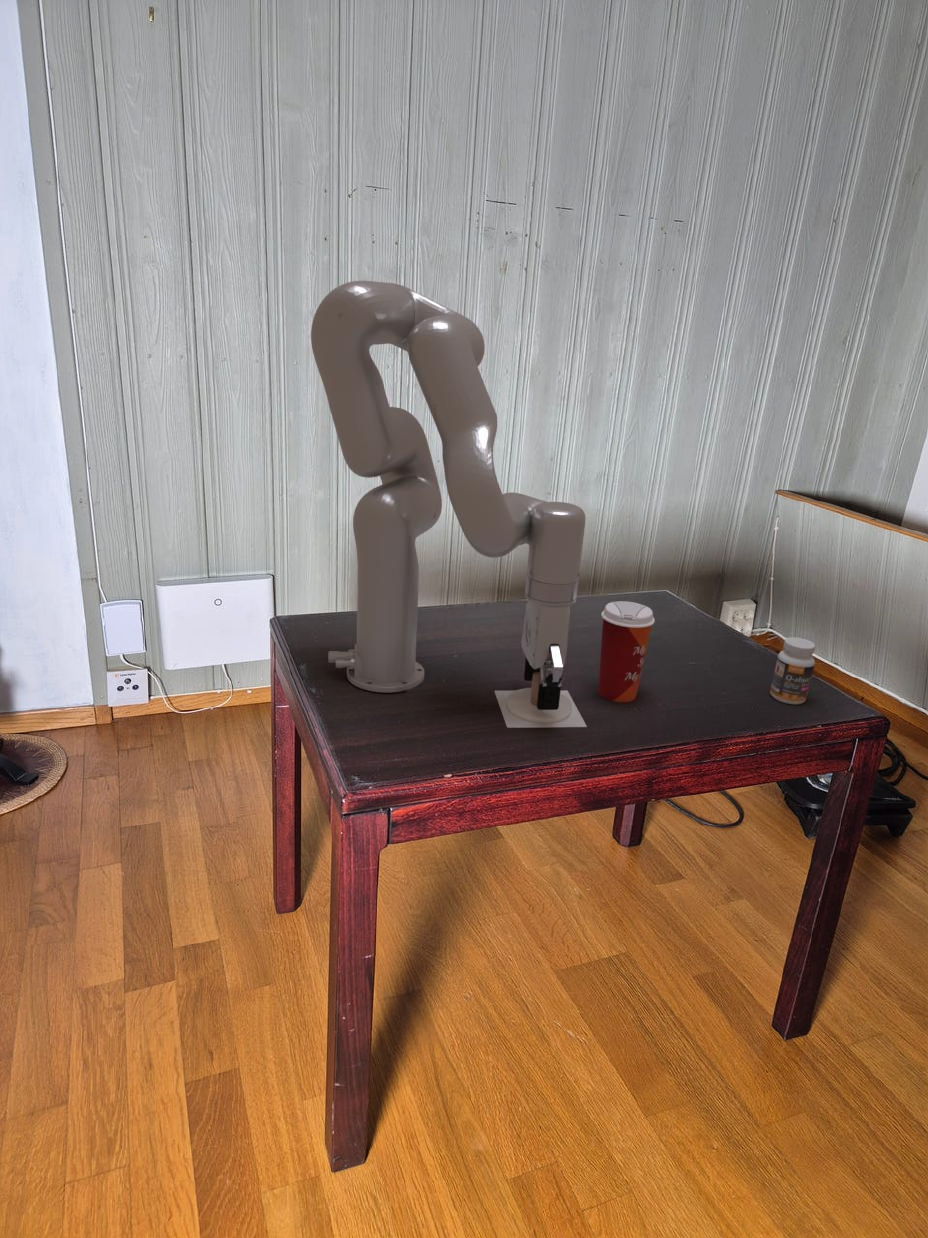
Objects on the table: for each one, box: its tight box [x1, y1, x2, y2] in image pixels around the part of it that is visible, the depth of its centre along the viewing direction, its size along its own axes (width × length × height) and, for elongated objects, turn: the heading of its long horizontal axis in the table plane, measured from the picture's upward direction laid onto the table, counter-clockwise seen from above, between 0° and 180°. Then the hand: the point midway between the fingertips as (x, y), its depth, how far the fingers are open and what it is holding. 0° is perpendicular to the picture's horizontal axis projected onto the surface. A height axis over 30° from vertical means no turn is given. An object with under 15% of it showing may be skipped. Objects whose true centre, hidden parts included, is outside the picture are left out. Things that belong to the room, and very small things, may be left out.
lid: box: [507, 672, 572, 724], centre depth 128 cm, size 10×10×6 cm
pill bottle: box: [769, 636, 816, 705], centre depth 137 cm, size 6×6×10 cm
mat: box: [494, 689, 588, 729], centre depth 129 cm, size 12×12×1 cm
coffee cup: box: [598, 600, 655, 703], centre depth 133 cm, size 8×8×15 cm
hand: (540, 694), depth 128 cm, fingers open, 9 cm apart
